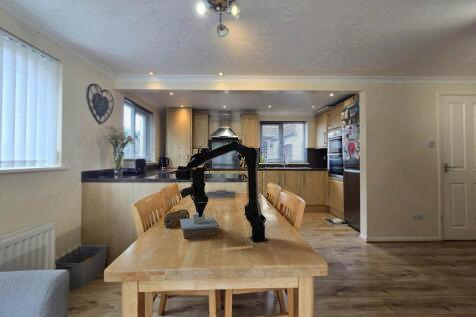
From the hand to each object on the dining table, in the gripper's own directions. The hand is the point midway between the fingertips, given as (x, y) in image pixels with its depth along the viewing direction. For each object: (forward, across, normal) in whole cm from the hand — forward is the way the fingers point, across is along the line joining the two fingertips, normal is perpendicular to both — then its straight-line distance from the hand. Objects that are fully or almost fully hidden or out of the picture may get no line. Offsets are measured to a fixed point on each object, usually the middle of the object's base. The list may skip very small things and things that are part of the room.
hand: (198, 214), depth 116 cm
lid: (+4, 0, 0) cm, 4 cm away
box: (+9, 0, 0) cm, 9 cm away
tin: (+9, -17, -9) cm, 21 cm away
